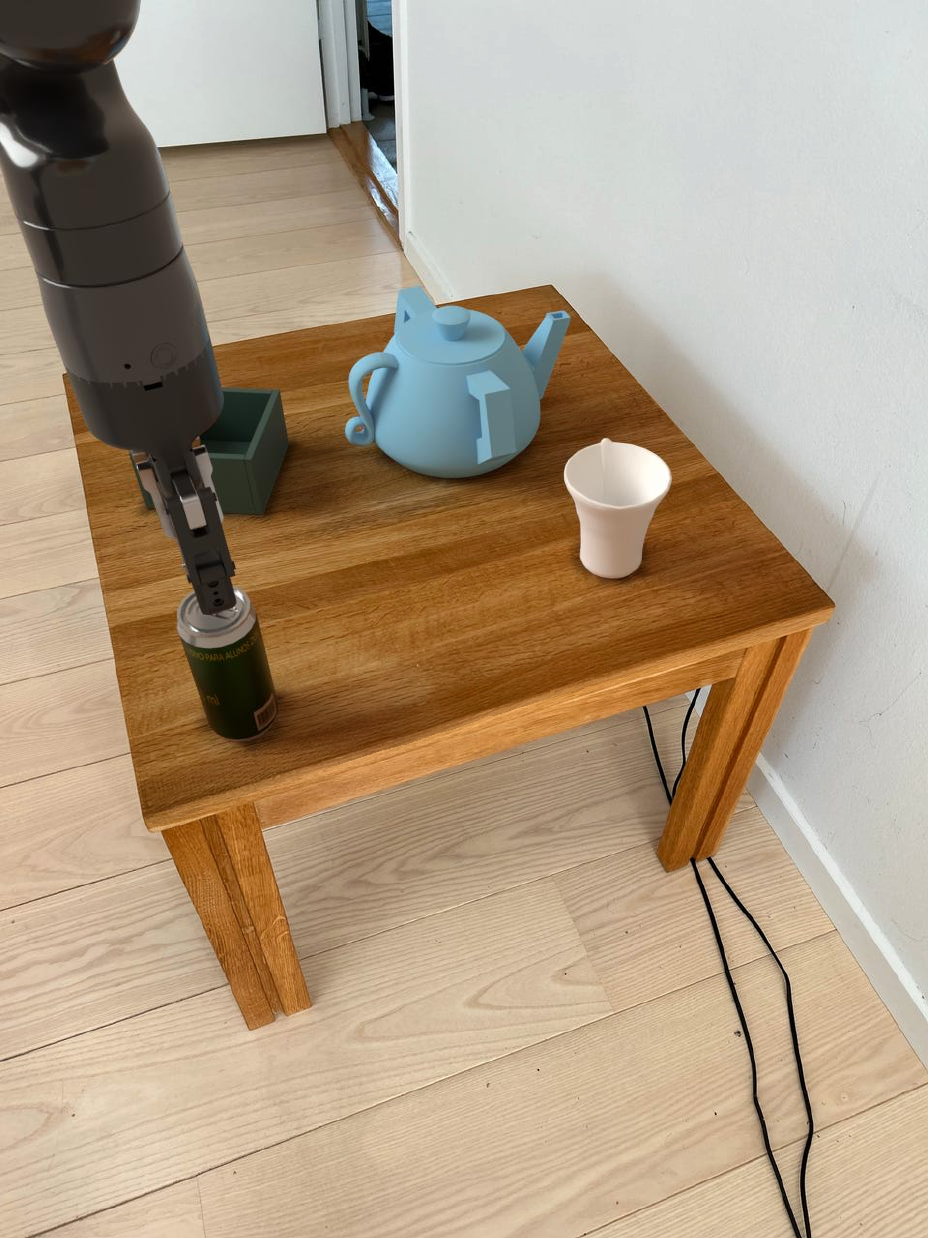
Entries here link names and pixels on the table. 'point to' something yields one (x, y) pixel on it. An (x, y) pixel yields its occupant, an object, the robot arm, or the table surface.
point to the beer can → (229, 667)
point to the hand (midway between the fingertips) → (202, 565)
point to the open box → (243, 450)
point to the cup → (615, 503)
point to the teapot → (453, 388)
